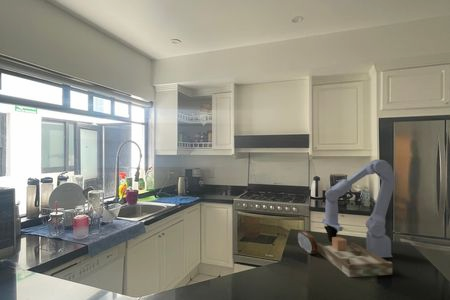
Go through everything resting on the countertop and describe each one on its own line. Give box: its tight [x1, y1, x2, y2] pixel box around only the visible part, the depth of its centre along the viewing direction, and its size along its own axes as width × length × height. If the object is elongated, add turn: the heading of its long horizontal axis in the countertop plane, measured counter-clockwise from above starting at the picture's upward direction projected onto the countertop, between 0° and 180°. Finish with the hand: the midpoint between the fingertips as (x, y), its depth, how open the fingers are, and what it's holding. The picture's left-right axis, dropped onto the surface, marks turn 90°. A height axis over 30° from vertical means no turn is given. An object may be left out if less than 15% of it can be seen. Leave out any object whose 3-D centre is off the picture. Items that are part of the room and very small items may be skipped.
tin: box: [297, 230, 318, 255], centre depth 117 cm, size 15×3×8 cm, turn 9°
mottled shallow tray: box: [316, 241, 393, 278], centre depth 105 cm, size 18×24×4 cm
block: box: [331, 236, 348, 250], centre depth 113 cm, size 4×4×4 cm
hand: (331, 241), depth 119 cm, fingers closed
